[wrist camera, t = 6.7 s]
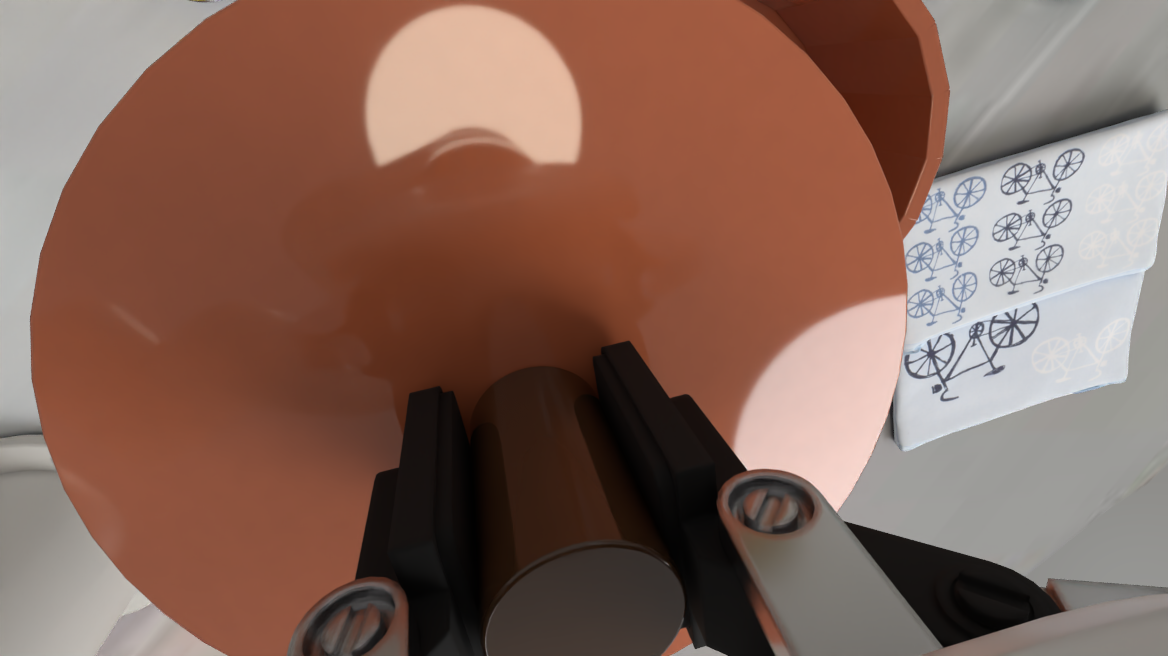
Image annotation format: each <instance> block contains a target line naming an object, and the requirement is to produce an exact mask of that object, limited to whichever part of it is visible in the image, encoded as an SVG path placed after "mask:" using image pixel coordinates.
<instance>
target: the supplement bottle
mask: <svg viewBox="0 0 1168 656" xmlns="http://www.w3.org/2000/svg"><path fill="white" fill-rule="evenodd" d="M190 1H195V2H216V1H221V0H190Z"/></svg>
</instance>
